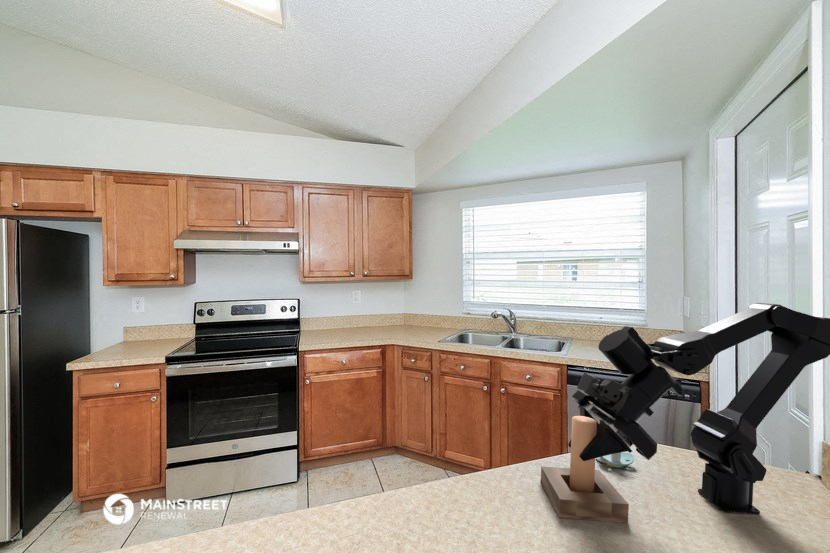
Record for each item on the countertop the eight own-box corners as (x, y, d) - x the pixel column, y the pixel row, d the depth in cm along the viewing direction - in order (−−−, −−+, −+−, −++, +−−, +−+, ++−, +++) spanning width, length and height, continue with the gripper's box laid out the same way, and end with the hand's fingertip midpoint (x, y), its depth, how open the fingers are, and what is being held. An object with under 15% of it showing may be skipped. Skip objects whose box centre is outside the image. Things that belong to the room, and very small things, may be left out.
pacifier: (589, 457, 86) (605, 470, 80) (590, 429, 86) (606, 439, 80) (619, 457, 87) (638, 470, 81) (620, 429, 87) (638, 439, 81)
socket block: (598, 485, 74) (599, 470, 74) (627, 522, 63) (628, 504, 63) (540, 481, 74) (541, 466, 74) (559, 517, 63) (560, 499, 63)
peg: (582, 482, 71) (585, 415, 71) (599, 494, 67) (601, 423, 67) (564, 485, 70) (567, 416, 70) (580, 498, 66) (583, 425, 66)
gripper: (583, 349, 78) (527, 402, 77) (641, 372, 59) (568, 443, 59) (619, 389, 78) (564, 442, 78) (689, 425, 60) (616, 495, 59)
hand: (575, 452), depth 68 cm, fingers closed on peg, 4 cm apart
